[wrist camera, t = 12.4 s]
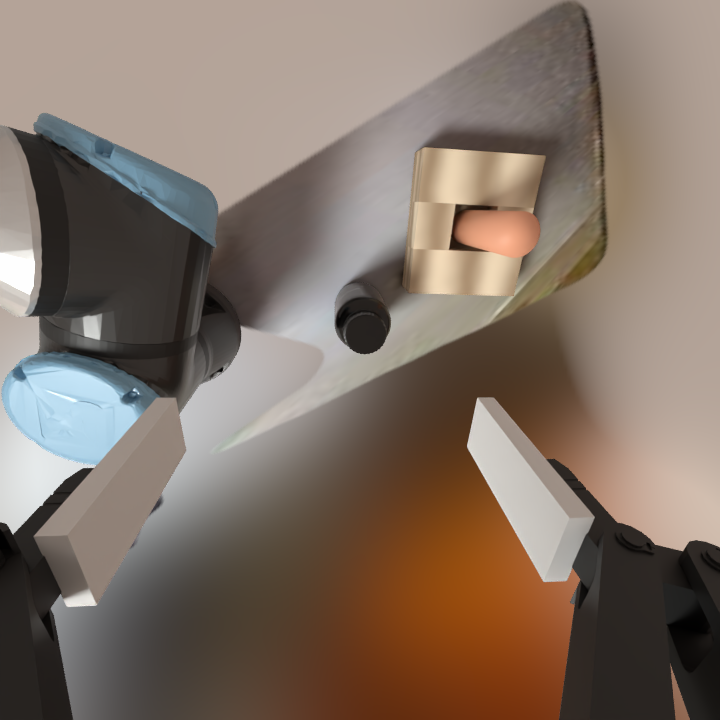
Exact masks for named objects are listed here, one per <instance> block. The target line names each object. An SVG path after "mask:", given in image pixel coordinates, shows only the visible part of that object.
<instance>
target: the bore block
mask: <svg viewBox="0 0 720 720" xmlns="http://www.w3.org/2000/svg"><path fill="white" fill-rule="evenodd" d="M545 158H546V156H543V155H529V154H514V153H500V152H485V151H471V150H456V149H442V148H427V147H424V148H422V149H421V150H419V151H417V152H416V153H415V158H414V168H413V179H412V189H411V199H410V210H409V220H408V230H407V240H406V251H405V261H404V271H403V282H402V286H403V287H404V288H405V289H406V290H407V292H408V293H424V294H459V295H494V296H514V292H515V288H516V283H517V279H518V275H519V271H520V266H521V262H522V258H523V256H522V257H518V258H511V257H507V256H503V255H500V254H496V253H493V252H489V251H486V250H482V249H479V248H475V247H472V246H468V245H465V244H461V243H458V242H456V241H455V240H453V238H452V237H451V232H452V225H453V218H454V216H455V215H456V214H457V213H459V212H460V211H463V210H491V211H526V212H530V213H532V214H533V210H534V206H535V201H536V197H537V193H538V188H539V184H540V180H541V175H542V171H543V167H544V162H545Z"/></svg>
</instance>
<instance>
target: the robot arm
mask: <svg viewBox="0 0 720 720" xmlns="http://www.w3.org/2000/svg"><path fill="white" fill-rule="evenodd" d="M34 131H35V132H36V133H37V134H36V135H33V134H30V133H27V132H23V131H20V130H17V129H13V128H10V127H7V126H3V125H0V307H2V308H4V309H5V310H7V311H8V312H10V313H11V314H13V315H15V316H18V317H24V316H25V317H30V316H39V323H40V324H39V332H40V333H39V337H40V338H39V340H40V347H39V351H38V353H37V354H35V355H31V356H28V357H26V358H24V359H22V360H21V361H20V362H19V363H18V364H17V365H16V367H15V368H14V369H13V370H12V371H11V372H10V373H9V374H8V375H7V377H6V378H5V381H4V384H3V386H2V401H3V405H4V408H5V410H6V413H7V415H8V416H9V418H10V420H11V421H12V422H13V424H14V425H15V426H16V427H17V428H18V430H20V431H21V432H22V433H23V434H24V435H25V436H26V437H27V438H28V439H30V440H32V441H34V442H36V443H37V444H38V445H39V446H40V447H42V448H43V449H45V450H47V451H48V452H50V453H53V454H55V455H57V456H60V457H62V458H65V459H68V460H72V461H75V462H79V463H83V464H90V465H96V467H95V468H83V469H81V470H80V471H78V472H77V473H75V474H73V475H72V476H70V477H69V478H67V479H66V480H65V481H64V482H63V483H62V484H61V485H60V486H59V487H58V488H57V489H56V490H55V491H54V494H53V495H50V497H49V498H48V499H47V500H46V501H45V502H44V503H43V506H40V507H39V508H38V509H37V510H36V511H35V512H34V513H33V514H32V515H31V516H30V517H29V519H28V520H27V521H26V522H25V523H24V524H23V525H22V526H21V527H20V528H19V529H18V530H17V531H16V532H15V533H14V535H12V533H11V531H10V529H9V527H8V526H7V524H5V523H0V720H73V716H72V711H71V705H70V700H69V695H68V689H67V684H66V679H65V673H64V668H63V663H62V657H61V652H60V647H59V641H58V635H57V630H56V625H55V619H54V615H53V613H52V611H51V609H50V608H51V606H52V605H53V604H54V602H55V601H56V599H57V598H58V597H59V595H60V594H61V595H62V597H63V599H64V602H65V604H66V606H67V607H75V606H94V605H97V604H98V602H99V600H100V599H101V597H102V595H103V594H104V592H105V590H106V588H107V587H108V585H109V583H110V581H111V580H112V578H113V576H114V574H115V573H116V571H117V569H118V568H119V566H120V564H121V562H122V561H123V559H124V557H125V556H126V554H127V552H128V550H129V549H130V547H131V545H132V543H133V542H134V540H135V538H136V537H137V535H138V533H139V531H140V530H141V528H142V526H143V524H144V523H145V521H146V519H147V518H148V516H149V514H150V512H151V511H152V509H153V507H154V505H155V504H156V502H157V500H158V499H159V497H160V495H161V493H162V492H163V489H164V488H165V486H166V485H167V483H168V481H169V479H170V478H171V476H172V474H173V472H174V471H175V469H176V467H177V466H178V464H179V462H180V461H181V459H182V457H183V455H184V454H185V452H186V447H185V442H184V437H183V432H182V427H181V422H180V416H179V414H180V412H181V411H182V409H183V408H184V406H185V405H186V404H187V402H188V401H189V399H190V398H191V397H192V395H193V394H194V392H195V391H196V389H197V388H198V386H199V385H200V384H202V383H205V382H207V381H209V380H211V379H214V378H216V377H217V376H219V375H220V374H221V373H223V372H224V371H225V370H226V369H227V368H228V367H229V365H230V364H231V363H232V361H233V359H234V358H235V356H236V354H237V352H238V350H239V347H240V342H241V328H240V323H239V319H238V317H237V314H236V312H235V310H234V309H233V307H232V305H231V304H230V303H229V301H228V300H227V299H226V298H225V297H224V296H223V295H222V294H221V293H220V292H219V291H218V290H216V289H215V288H214V287H212V286H211V285H209V284H207V280H208V274H209V269H210V263H211V257H212V251H213V248H216V241H215V233H216V225H217V217H218V204H217V201H216V199H215V197H214V195H213V193H212V192H211V191H210V190H209V189H208V188H207V187H206V186H204V185H203V184H200V183H199V182H197V181H195V180H193V179H191V178H189V177H186V176H184V175H182V174H180V173H178V172H176V171H174V170H171V169H169V168H167V167H165V166H162V165H161V164H158V163H156V162H154V161H152V160H150V159H147V158H145V157H143V156H141V155H139V154H137V153H134V152H132V151H130V150H128V149H125V148H123V147H121V146H119V145H116V144H114V143H112V142H110V141H108V140H106V139H103V138H101V137H99V136H97V135H94V134H92V133H90V132H88V131H86V130H84V129H82V128H80V127H78V126H75V125H73V124H71V123H69V122H67V121H64V120H62V119H60V118H57V117H55V116H53V115H51V114H48V113H42V114H40V115H39V117H38V120H37V122H35V123H34ZM467 447H468V449H469V451H470V453H471V455H472V456H473V458H474V460H475V462H476V463H477V465H478V467H479V469H480V470H481V472H482V474H483V476H484V478H485V479H486V481H487V483H488V484H489V486H490V488H491V490H492V492H493V493H494V495H495V497H496V499H497V501H498V502H499V504H500V505H501V508H502V509H503V511H504V513H505V515H506V516H507V518H508V520H509V522H510V523H511V525H512V527H513V529H514V530H515V532H516V534H517V536H518V538H519V539H520V541H521V543H522V545H523V546H524V548H525V550H526V552H527V553H528V555H529V557H530V559H531V560H532V562H533V564H534V566H535V567H536V569H537V571H538V572H539V575H540V576H541V578H542V580H543V582H552V581H567V579H568V577H569V574H570V572H571V570H572V568H573V569H574V570H575V572H576V573H577V575H578V576H579V578H580V579H581V580H580V582H579V584H578V586H577V588H576V590H575V592H574V595H573V597H572V599H571V601H570V603H572V604H575V607H574V614H573V621H572V628H571V636H570V643H569V651H568V658H567V665H566V672H565V680H564V687H563V694H562V702H561V709H560V716H559V720H675V710H674V700H673V689H672V679H671V668H670V664H671V667H672V670H673V673H674V675H675V678H676V681H677V684H678V687H679V689H680V692H681V695H682V698H683V701H684V704H685V706H686V709H687V712H688V715H689V718H690V720H720V548H719V547H718V546H715V545H712V544H710V543H707V542H703V541H697V540H695V541H690V542H689V543H688V544H687V546H686V548H685V549H684V551H679V550H674V549H670V548H666V547H662V546H658V545H655V544H654V543H653V542H652V541H651V540H650V539H649V538H648V537H647V536H646V535H644V534H643V533H642V532H640V531H638V530H636V529H635V528H633V527H631V526H628V525H625V524H622V523H617V522H616V521H615V520H614V519H613V518H612V516H611V515H610V514H609V513H608V512H607V511H606V510H605V509H604V508H603V507H602V505H601V504H600V503H599V502H598V501H597V500H596V499H595V498H594V497H593V495H592V494H591V493H590V492H589V491H588V490H586V488H585V487H584V486H583V484H582V483H581V482H580V481H578V479H577V478H576V477H575V475H574V474H573V473H572V472H571V471H570V470H569V469H568V468H567V467H565V466H564V465H562V464H561V463H560V462H558V461H557V460H555V459H545V458H544V457H543V455H542V454H541V453H540V452H539V451H538V449H537V448H536V447H535V446H534V445H533V443H532V442H531V441H530V440H529V439H528V438H527V436H526V435H525V434H524V433H523V432H522V431H521V429H520V428H519V427H518V426H517V425H516V423H515V422H514V421H513V420H512V419H511V418H510V416H509V415H508V414H507V413H506V412H505V410H504V409H503V408H502V407H501V406H500V405H499V403H498V402H497V401H496V400H495V399H494V398H477V403H476V407H475V412H474V417H473V421H472V426H471V431H470V435H469V440H468V445H467Z"/></svg>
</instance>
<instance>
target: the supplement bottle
mask: <svg viewBox="0 0 720 720" xmlns="http://www.w3.org/2000/svg"><path fill="white" fill-rule="evenodd" d="M390 327H391V318H390V314H389V311H388V309H387V307H386V305H385V303H384V301H383V299H382V297H381V295H380V293H379V292H378V290H377V289H376V288H375V287H373V286H372V285H370V284H367V283H364V282H355V283H351V284H349V285H347V286H345V287H344V288H343V289H342V290H341V291H340V292H339V294H338V295H337V298H336V301H335V329H336V333H337V335H338V337H339V338H340V340H341V341H342V342H343V343H344V344H345V345H347V346H348V347H350V349H352V350H353V351H355V352H356V353H360V354H370V353H373V352H374V351H377V350H378V349H380V347H381V346H383V343H384V342H385V339H386V337H387V336H388V334H389V331H390Z"/></svg>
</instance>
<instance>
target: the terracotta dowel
mask: <svg viewBox="0 0 720 720" xmlns="http://www.w3.org/2000/svg"><path fill="white" fill-rule="evenodd" d="M539 236H540V224H539V221H538V219H537V218H536V217H535V216H534V215H533V214H532V213H530V212H526V211H491V210H463V211H460V212H459V213H457V214H456V215H455V216H454V218H453V225H452V232H451V237H452V238H453V240H455V241H456V242H458V243H461V244H465V245H468V246H472V247H475V248H479V249H482V250H486V251H489V252H493V253H496V254H500V255H503V256H507V257H511V258H518V257H522V256H524V255H526V254H528V253H529V252H530V251H531V250H532V249H533V248H534V247H535V245H536V244H537V242H538V239H539Z"/></svg>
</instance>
